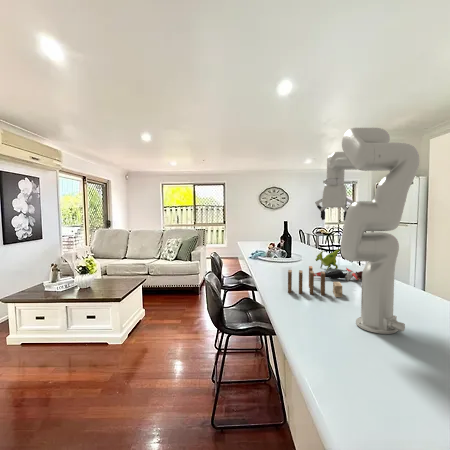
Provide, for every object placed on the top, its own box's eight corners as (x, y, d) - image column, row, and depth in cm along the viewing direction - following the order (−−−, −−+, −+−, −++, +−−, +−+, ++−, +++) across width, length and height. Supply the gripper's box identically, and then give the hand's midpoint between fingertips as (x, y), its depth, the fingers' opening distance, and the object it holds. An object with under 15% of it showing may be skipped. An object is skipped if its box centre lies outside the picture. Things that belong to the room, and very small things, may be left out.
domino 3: (311, 285, 151) (312, 266, 151) (312, 287, 146) (312, 268, 146) (308, 285, 152) (308, 266, 151) (309, 287, 147) (309, 267, 146)
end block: (339, 292, 138) (339, 281, 138) (342, 297, 130) (342, 286, 130) (333, 292, 139) (333, 281, 139) (335, 296, 131) (335, 285, 131)
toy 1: (318, 275, 195) (310, 256, 192) (339, 257, 203) (331, 239, 199) (327, 277, 188) (319, 258, 184) (349, 259, 195) (341, 240, 191)
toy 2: (312, 285, 153) (374, 287, 147) (313, 274, 153) (375, 276, 147) (308, 273, 180) (360, 275, 174) (308, 264, 180) (360, 266, 174)
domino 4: (313, 291, 140) (313, 270, 139) (313, 294, 135) (313, 273, 134) (309, 291, 140) (309, 270, 140) (309, 294, 135) (310, 273, 135)
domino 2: (302, 290, 141) (302, 270, 140) (302, 293, 136) (302, 272, 135) (298, 290, 141) (298, 270, 141) (298, 293, 136) (299, 272, 136)
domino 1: (291, 290, 142) (291, 269, 142) (291, 293, 137) (291, 272, 137) (288, 290, 142) (288, 269, 142) (287, 292, 138) (288, 271, 137)
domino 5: (323, 292, 138) (324, 271, 138) (324, 295, 134) (325, 273, 133) (320, 292, 139) (320, 271, 138) (321, 295, 134) (321, 273, 133)
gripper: (313, 182, 134) (312, 220, 136) (354, 181, 125) (352, 221, 126) (318, 183, 141) (317, 219, 142) (357, 182, 131) (355, 220, 133)
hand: (334, 220), depth 134 cm, fingers open, 9 cm apart
